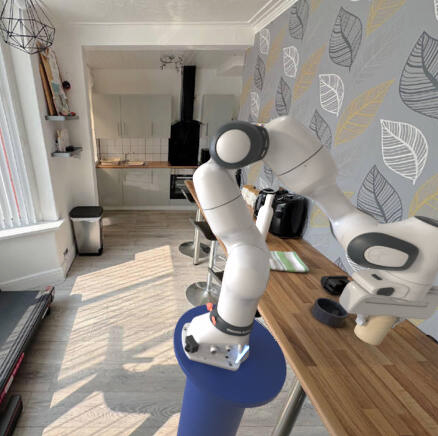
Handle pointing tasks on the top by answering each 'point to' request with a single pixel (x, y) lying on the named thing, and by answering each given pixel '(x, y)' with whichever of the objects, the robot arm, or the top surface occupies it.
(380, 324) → the candle
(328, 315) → the holder
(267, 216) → the bottle
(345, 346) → the top surface
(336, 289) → the end cap
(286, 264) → the dish towel
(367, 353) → the top surface
